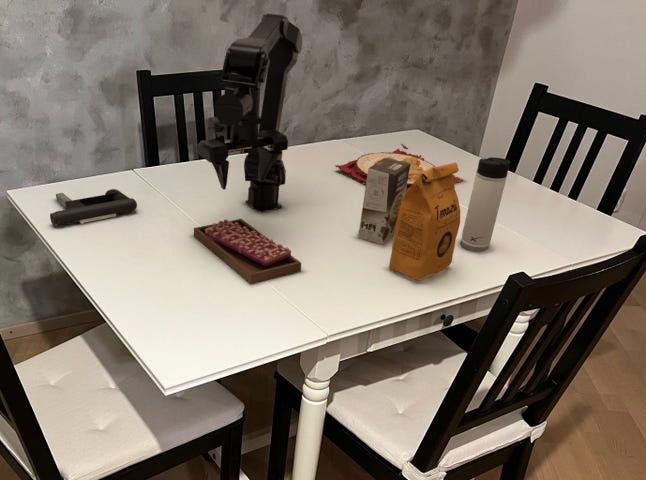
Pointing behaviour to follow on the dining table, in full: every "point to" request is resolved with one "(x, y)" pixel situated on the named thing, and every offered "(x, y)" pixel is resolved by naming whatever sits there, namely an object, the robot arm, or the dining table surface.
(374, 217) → the coffee box
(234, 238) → the pink flat grid slab
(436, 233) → the coffee package
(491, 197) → the travel mug
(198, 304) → the dining table surface
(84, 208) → the door handle
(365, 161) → the plate with food
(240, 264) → the tray
